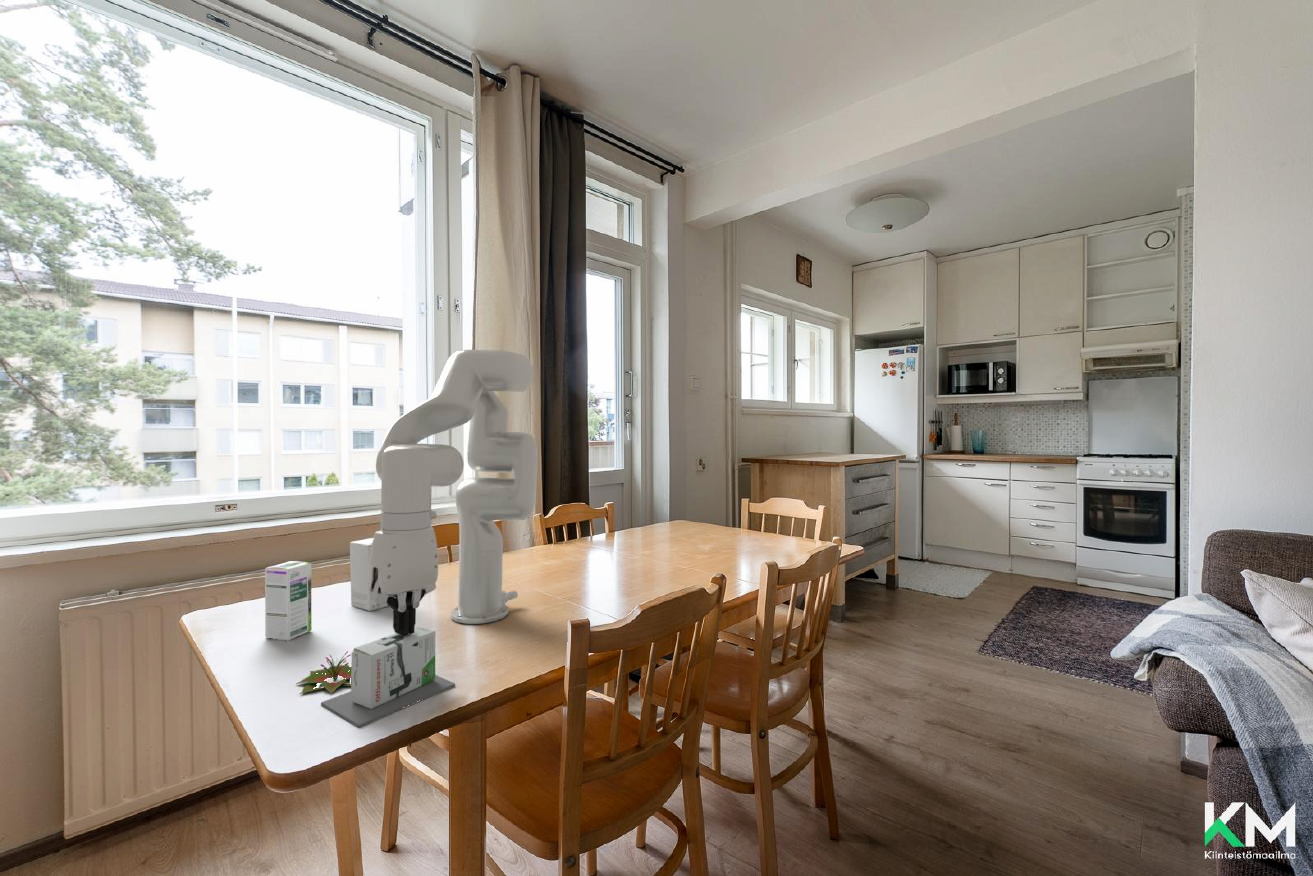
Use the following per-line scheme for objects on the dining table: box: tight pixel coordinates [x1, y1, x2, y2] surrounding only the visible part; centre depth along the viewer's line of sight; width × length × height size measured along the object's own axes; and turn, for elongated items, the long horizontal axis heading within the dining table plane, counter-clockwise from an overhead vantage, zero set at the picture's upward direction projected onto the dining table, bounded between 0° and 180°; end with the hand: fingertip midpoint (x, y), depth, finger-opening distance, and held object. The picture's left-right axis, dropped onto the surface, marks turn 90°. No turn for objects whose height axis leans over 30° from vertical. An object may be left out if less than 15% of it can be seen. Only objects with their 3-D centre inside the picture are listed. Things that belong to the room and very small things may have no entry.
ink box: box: [350, 625, 436, 709], centre depth 89 cm, size 9×5×12 cm
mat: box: [320, 674, 456, 728], centre depth 89 cm, size 16×11×1 cm
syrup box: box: [264, 560, 312, 642], centre depth 113 cm, size 6×6×14 cm
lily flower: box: [295, 651, 352, 695], centre depth 94 cm, size 12×12×5 cm
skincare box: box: [349, 537, 389, 612], centre depth 132 cm, size 8×7×16 cm
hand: (404, 632), depth 91 cm, fingers closed
